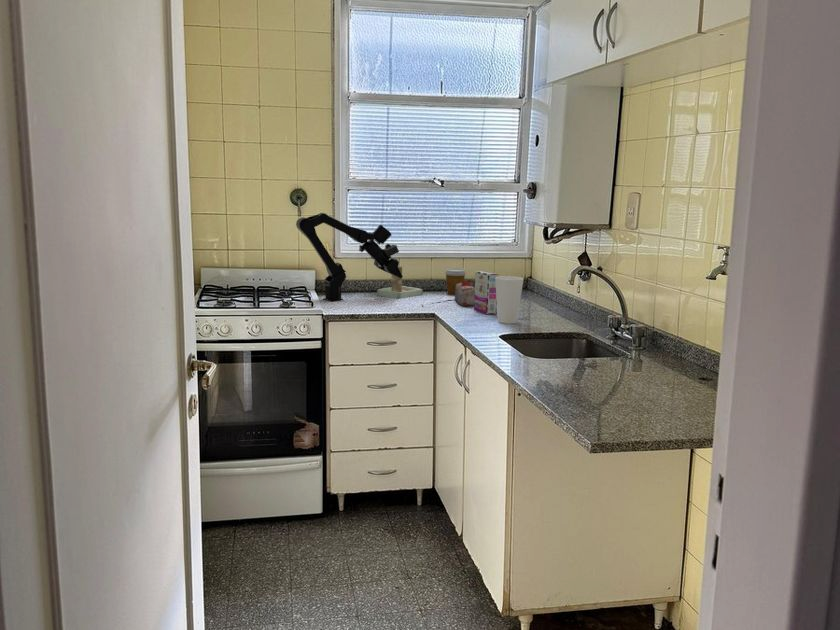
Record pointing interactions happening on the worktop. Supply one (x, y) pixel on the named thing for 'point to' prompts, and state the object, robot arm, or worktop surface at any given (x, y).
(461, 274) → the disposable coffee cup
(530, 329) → the worktop surface
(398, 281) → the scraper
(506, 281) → the cup
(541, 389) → the worktop surface
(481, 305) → the candy bar box
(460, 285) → the food item
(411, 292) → the tray
